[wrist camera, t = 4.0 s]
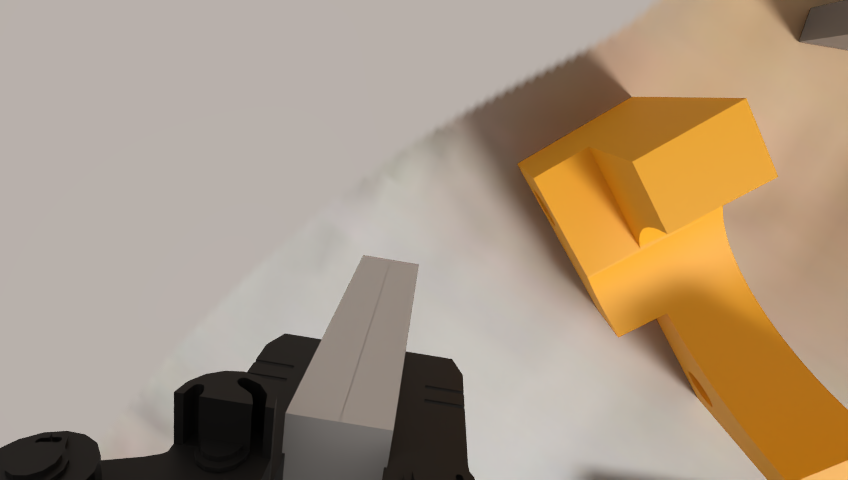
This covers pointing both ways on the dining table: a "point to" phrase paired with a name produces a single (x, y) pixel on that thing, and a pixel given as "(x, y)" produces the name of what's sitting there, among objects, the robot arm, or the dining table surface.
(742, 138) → the orange blocky piece
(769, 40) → the dining table surface
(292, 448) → the robot arm
